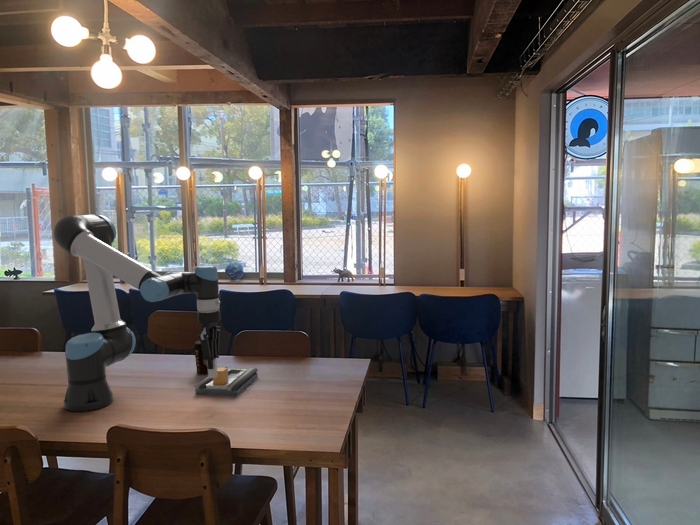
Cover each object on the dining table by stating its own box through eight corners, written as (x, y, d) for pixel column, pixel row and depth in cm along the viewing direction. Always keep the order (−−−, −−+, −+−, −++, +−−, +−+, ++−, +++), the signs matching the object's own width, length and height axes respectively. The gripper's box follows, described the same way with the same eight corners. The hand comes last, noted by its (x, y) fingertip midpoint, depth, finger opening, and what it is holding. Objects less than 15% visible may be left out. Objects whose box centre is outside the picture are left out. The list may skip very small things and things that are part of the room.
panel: (237, 395, 188) (237, 387, 188) (195, 393, 191) (195, 384, 191) (257, 377, 208) (257, 369, 207) (219, 375, 211) (218, 367, 210)
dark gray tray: (235, 391, 187) (235, 387, 187) (194, 389, 190) (194, 385, 190) (257, 371, 209) (257, 368, 208) (220, 370, 211) (220, 366, 211)
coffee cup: (219, 370, 218) (218, 339, 217) (212, 376, 210) (210, 344, 209) (198, 369, 219) (197, 338, 218) (190, 376, 211) (189, 344, 209)
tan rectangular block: (223, 387, 191) (223, 371, 190) (213, 386, 192) (212, 370, 191) (228, 383, 195) (227, 367, 194) (218, 383, 196) (217, 367, 195)
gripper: (210, 314, 176) (214, 383, 179) (226, 306, 189) (230, 371, 192) (189, 314, 178) (194, 383, 180) (207, 306, 190) (210, 371, 193)
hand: (212, 377), depth 186 cm, fingers closed
